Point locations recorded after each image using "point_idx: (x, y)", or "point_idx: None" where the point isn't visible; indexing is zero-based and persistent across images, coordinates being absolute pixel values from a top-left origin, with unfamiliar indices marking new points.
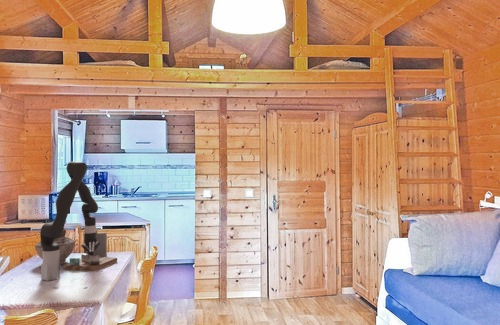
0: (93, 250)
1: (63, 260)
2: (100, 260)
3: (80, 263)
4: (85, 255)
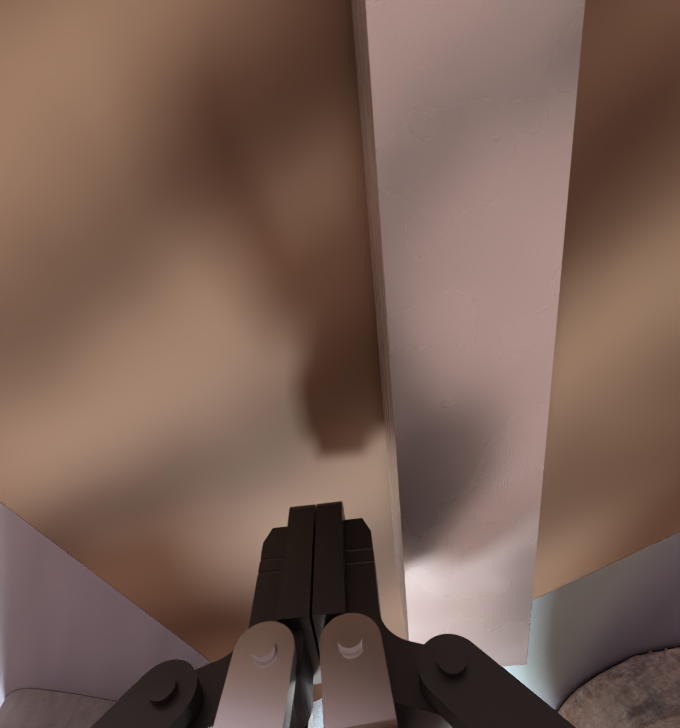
0: (234, 654)
1: (649, 708)
2: (154, 276)
3: (639, 302)
4: (538, 473)
